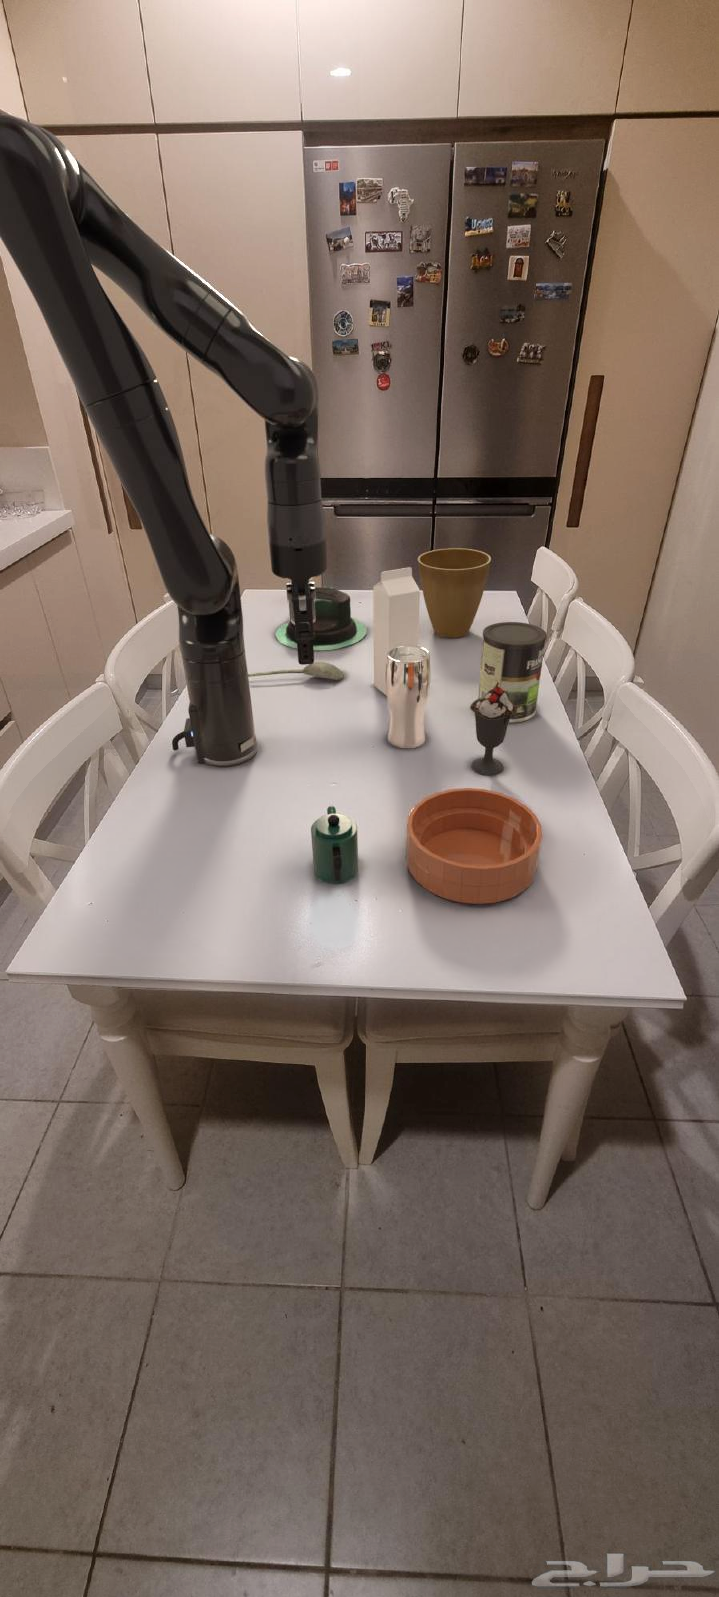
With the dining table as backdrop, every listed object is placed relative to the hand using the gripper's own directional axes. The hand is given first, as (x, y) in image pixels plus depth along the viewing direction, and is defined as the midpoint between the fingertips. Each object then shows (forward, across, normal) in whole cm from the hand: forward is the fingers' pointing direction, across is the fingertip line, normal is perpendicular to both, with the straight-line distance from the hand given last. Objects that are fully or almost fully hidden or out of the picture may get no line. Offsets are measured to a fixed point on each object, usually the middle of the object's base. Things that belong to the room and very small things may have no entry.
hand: (305, 651), depth 101 cm
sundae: (+18, +8, +27) cm, 33 cm away
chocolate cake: (+18, -51, +5) cm, 54 cm away
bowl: (+17, +30, +19) cm, 39 cm away
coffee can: (+18, -10, +35) cm, 40 cm away
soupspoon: (+18, -28, -3) cm, 33 cm away
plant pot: (+18, -47, +33) cm, 60 cm away
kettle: (+17, +29, +2) cm, 33 cm away
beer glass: (+18, -2, +16) cm, 24 cm away
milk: (+18, -21, +17) cm, 32 cm away
